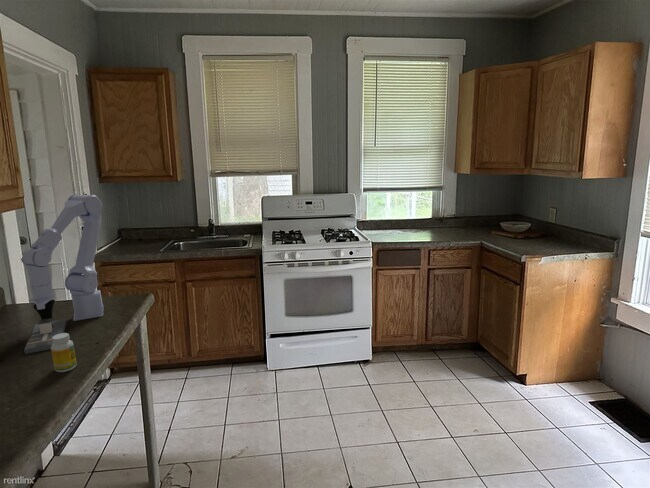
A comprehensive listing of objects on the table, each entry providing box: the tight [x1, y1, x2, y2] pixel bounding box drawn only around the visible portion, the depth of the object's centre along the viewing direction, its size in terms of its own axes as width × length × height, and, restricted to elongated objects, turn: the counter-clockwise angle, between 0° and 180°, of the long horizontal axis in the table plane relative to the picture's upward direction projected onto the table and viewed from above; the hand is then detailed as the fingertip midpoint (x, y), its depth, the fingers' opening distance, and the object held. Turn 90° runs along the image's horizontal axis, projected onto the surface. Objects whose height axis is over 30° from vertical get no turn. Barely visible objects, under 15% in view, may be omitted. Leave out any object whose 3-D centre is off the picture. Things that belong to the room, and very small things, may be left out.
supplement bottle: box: [50, 332, 78, 373], centre depth 120 cm, size 5×5×10 cm
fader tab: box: [37, 318, 52, 334], centre depth 141 cm, size 3×3×4 cm
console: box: [23, 318, 68, 355], centre depth 142 cm, size 9×22×3 cm, turn 25°
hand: (47, 323), depth 146 cm, fingers closed
